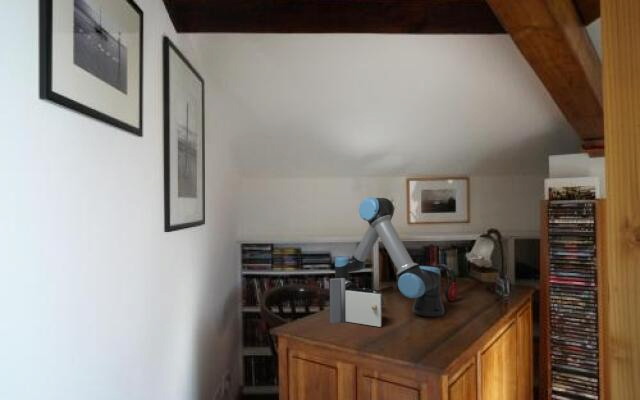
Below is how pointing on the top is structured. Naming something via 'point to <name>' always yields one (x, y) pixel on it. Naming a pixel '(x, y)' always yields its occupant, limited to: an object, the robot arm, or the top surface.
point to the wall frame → (337, 300)
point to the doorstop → (381, 298)
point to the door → (363, 308)
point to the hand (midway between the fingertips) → (367, 298)
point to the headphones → (451, 289)
